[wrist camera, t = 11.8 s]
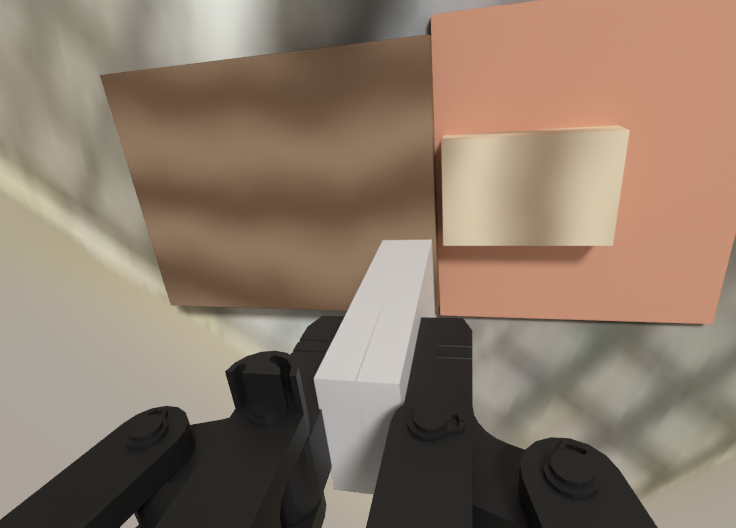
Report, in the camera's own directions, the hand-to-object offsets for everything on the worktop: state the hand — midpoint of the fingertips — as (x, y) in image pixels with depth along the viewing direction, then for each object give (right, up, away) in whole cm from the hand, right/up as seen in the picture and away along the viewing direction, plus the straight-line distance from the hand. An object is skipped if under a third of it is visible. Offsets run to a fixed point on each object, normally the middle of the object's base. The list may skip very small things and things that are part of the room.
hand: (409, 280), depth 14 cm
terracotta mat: (+11, +5, +11) cm, 16 cm away
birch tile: (+8, +5, +11) cm, 15 cm away
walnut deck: (-7, +5, +15) cm, 18 cm away
